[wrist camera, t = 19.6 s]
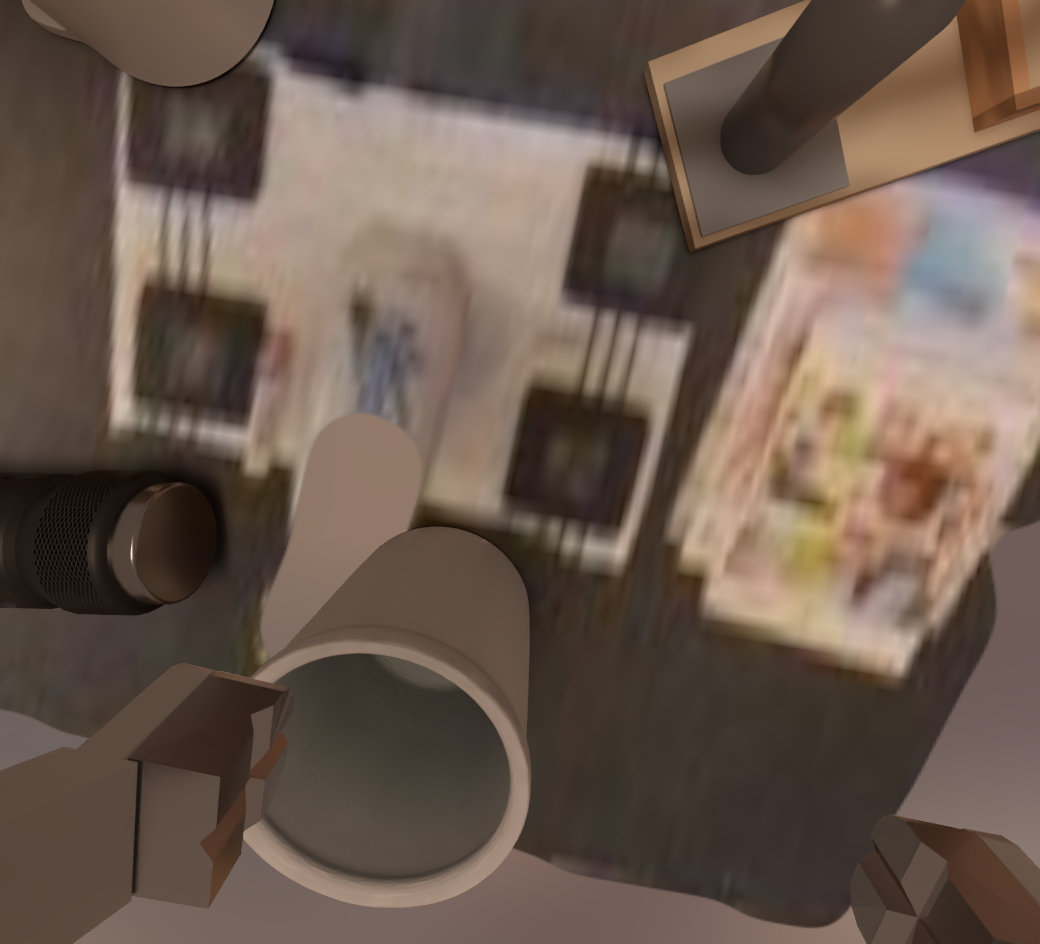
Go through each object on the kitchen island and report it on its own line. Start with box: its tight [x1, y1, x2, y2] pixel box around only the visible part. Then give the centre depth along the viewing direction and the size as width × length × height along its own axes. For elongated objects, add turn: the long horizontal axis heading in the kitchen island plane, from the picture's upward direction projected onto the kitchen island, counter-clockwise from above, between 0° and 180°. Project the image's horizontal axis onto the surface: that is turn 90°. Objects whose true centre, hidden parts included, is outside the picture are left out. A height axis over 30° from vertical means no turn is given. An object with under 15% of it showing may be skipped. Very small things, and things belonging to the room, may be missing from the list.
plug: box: [720, 0, 965, 175], centre depth 24 cm, size 4×4×17 cm
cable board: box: [644, 0, 1040, 253], centre depth 31 cm, size 11×26×4 cm, turn 109°
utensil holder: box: [243, 527, 531, 907], centre depth 34 cm, size 15×15×18 cm
